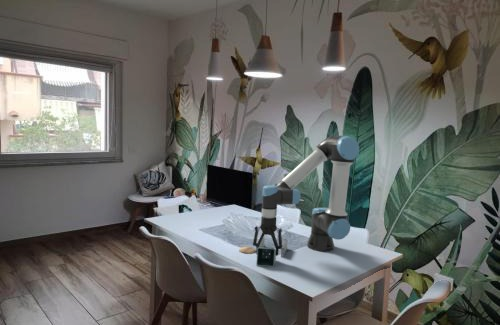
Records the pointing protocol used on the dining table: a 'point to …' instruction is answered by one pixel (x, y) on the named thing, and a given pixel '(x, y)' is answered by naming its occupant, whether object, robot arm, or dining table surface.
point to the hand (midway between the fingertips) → (266, 260)
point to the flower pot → (265, 256)
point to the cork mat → (247, 250)
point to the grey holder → (281, 248)
